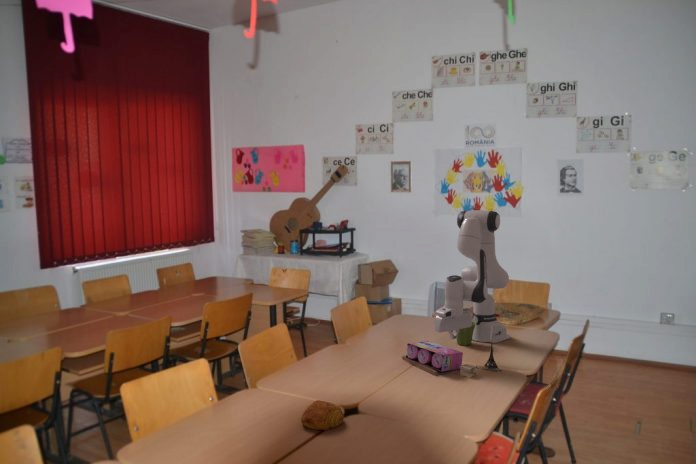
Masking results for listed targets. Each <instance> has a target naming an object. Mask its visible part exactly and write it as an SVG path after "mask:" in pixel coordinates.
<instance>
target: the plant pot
mask: <svg viewBox="0 0 696 464" xmlns="http://www.w3.org/2000/svg"><path fill="white" fill-rule="evenodd" d="M475 325H476V323H475V322H473V320H472V326H471V327H468V328H463V329H459V333H458V335H457V338H456V343H457V344H458V345H460V346H471V345H472V341H473V340H472V336H473V331H474V328H475Z"/></svg>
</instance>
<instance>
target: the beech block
mask: <svg viewBox="0 0 696 464" xmlns="http://www.w3.org/2000/svg"><path fill="white" fill-rule="evenodd" d="M476 367H477V365H474V364H473V365H472V364H469V363H465V364H463V365H462V366H460V369H459V371H460V372H459V375H460V376H464V377H467V378H472V377H475V376H477V368H476Z"/></svg>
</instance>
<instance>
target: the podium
mask: <svg viewBox="0 0 696 464" xmlns="http://www.w3.org/2000/svg"><path fill="white" fill-rule="evenodd" d="M401 359H403V361H404V360H405V362H406V361H407V363H409V364H410V365H413V366H415V367H416V368H419V369H421V370H423V371H424V372H426V373H428V374H430V375H432V376H435V377H436V376H441V375H445V374H446V375H447V374H450V373H455V372H459V371H460V369H456V370H449V371H442V372H441V371H439V370H436V369H434V368H431V367H429V366H426V365H423V364H420V363H417V362H414V361H411V360H409V359H407V358H406V355H402V356H401Z"/></svg>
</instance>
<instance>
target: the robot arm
mask: <svg viewBox="0 0 696 464" xmlns="http://www.w3.org/2000/svg"><path fill="white" fill-rule="evenodd" d="M500 216H501V215H500V214H499V213H498V212H497V211H495V210H484V209H478V210H477V209H475V210H462V211H459V213H458V214H457V218H456V224H457V227H458V228H459V230H458V231H459V232H458V237H457V243H456V245H457V247H456V248H457V249H458V252H459V253H460V254H461V255H462V256H464V257H465V258H467V259H470V260H472V261H473V262H475V264H476V266H475V265H473V266H472V265H471V266H466V267H464V268H463V269H462V270H461V272H460V275H458V274H455V275H454V274H453V275H449V276H447V277H446V278H445V283H444V299H445V301H444V305H443V306H441V307H440V308H438V309H436V310H435V315H436V316H435V318H434V331H436V332H437V333H440V334H441V333H446V332H448V334H449V338H450V340H455V339H456V340H457V335H458V333H459V329H463V328H468V327H471V326H472V321H473V322H475V323H476V325H475V328H474V331H473V336H472V341H475V342H479V343H481V342H482V343H491V342H492V343H493V344H497V343H499V342H503V341H506V340H509V339H511V338H512V336H511V335H510V334H509V333H507V327H506V325H504V324H503V323H502V322H501V321H499V320H498V318H501V317H502V316H501V313H498V312H497V313H496V312H495V309H496V308H495V303H496V301H495V299H494V297H493V295H491V294H489V291H488V289H493V290H498V289H505V288H506V287H507V286H508V284H509V281H510V277H509V274H508V271H506V270H505V269H504V268H503V267H502V266H501V265H500V263H499V261H498V259H497V256H496V254H497V253H496V237H495V235H496V234H495V232H496V231H498V229H499V227H500V226H501V225H500V224H501V217H500ZM464 301H465V302H473V303H472V305H473V306H472V307H473V311H472V309H470V308H469V307H465V308H464Z"/></svg>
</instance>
